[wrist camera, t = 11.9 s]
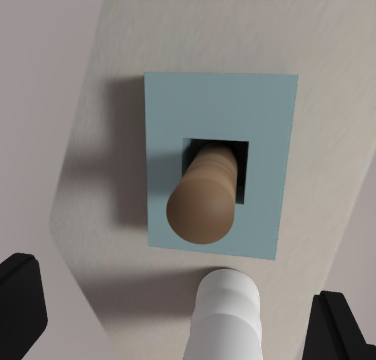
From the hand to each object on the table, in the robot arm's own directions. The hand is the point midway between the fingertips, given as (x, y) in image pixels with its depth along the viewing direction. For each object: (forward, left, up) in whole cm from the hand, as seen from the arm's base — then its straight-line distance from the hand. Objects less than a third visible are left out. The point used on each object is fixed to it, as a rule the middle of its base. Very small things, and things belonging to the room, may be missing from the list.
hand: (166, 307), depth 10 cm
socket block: (0, 0, -22) cm, 22 cm away
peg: (0, 0, -22) cm, 22 cm away
